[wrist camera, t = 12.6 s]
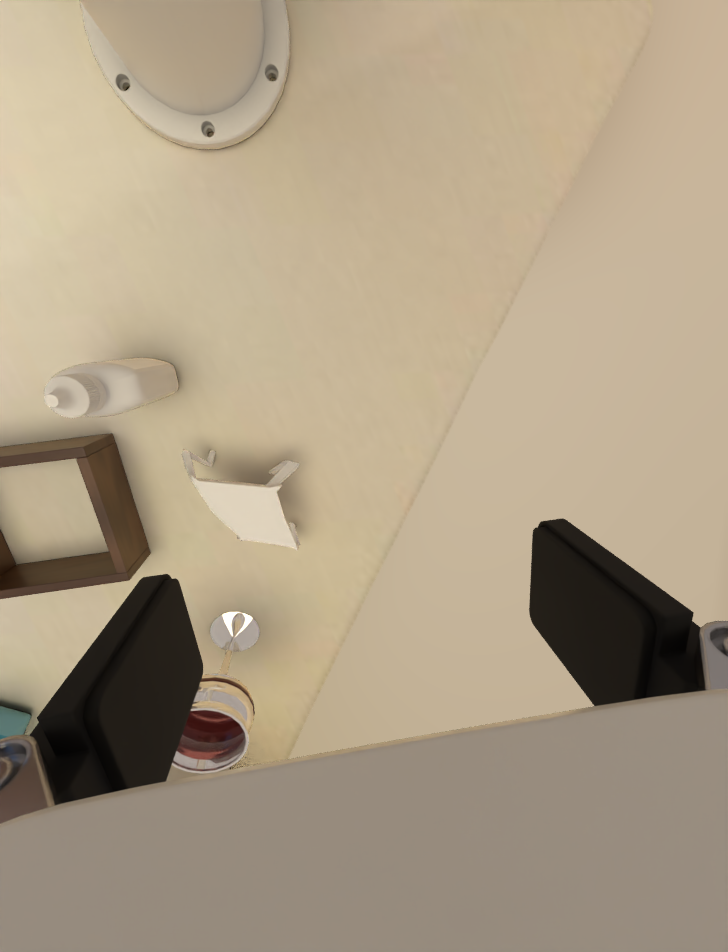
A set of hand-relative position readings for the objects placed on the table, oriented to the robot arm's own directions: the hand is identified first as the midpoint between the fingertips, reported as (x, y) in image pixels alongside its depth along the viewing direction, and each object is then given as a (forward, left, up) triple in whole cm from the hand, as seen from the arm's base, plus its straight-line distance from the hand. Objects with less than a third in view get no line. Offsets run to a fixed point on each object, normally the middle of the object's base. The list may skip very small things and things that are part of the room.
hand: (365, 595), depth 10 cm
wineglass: (+21, -13, -26) cm, 36 cm away
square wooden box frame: (+5, -25, -26) cm, 37 cm away
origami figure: (+5, -8, -26) cm, 28 cm away
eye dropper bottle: (-5, -15, -26) cm, 31 cm away
